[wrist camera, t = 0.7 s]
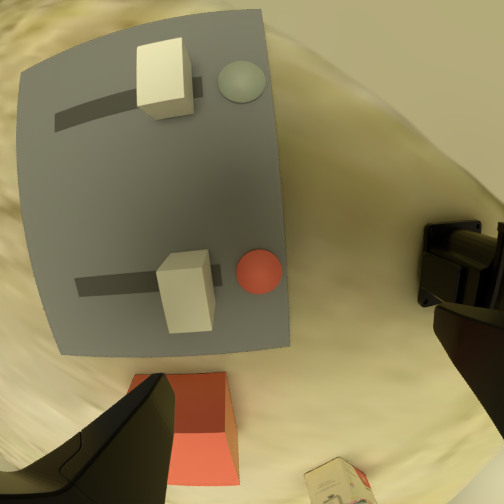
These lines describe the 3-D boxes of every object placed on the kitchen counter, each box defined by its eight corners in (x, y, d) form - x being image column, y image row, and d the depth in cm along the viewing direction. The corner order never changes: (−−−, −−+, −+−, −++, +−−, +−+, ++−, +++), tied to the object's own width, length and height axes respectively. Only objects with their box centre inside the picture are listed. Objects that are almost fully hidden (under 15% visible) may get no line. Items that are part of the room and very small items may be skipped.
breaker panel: (257, 28, 14) (261, 6, 11) (283, 326, 19) (291, 348, 16) (39, 80, 13) (18, 71, 11) (75, 338, 18) (59, 356, 16)
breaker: (191, 62, 12) (181, 37, 9) (194, 113, 13) (184, 97, 10) (154, 69, 12) (137, 46, 9) (156, 120, 13) (137, 106, 10)
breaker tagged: (208, 249, 15) (201, 267, 12) (215, 302, 15) (212, 330, 12) (170, 253, 15) (155, 271, 12) (180, 305, 15) (169, 333, 12)
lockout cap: (225, 371, 20) (224, 432, 14) (237, 431, 22) (239, 484, 16) (134, 374, 19) (112, 428, 14) (159, 432, 21) (148, 482, 15)
